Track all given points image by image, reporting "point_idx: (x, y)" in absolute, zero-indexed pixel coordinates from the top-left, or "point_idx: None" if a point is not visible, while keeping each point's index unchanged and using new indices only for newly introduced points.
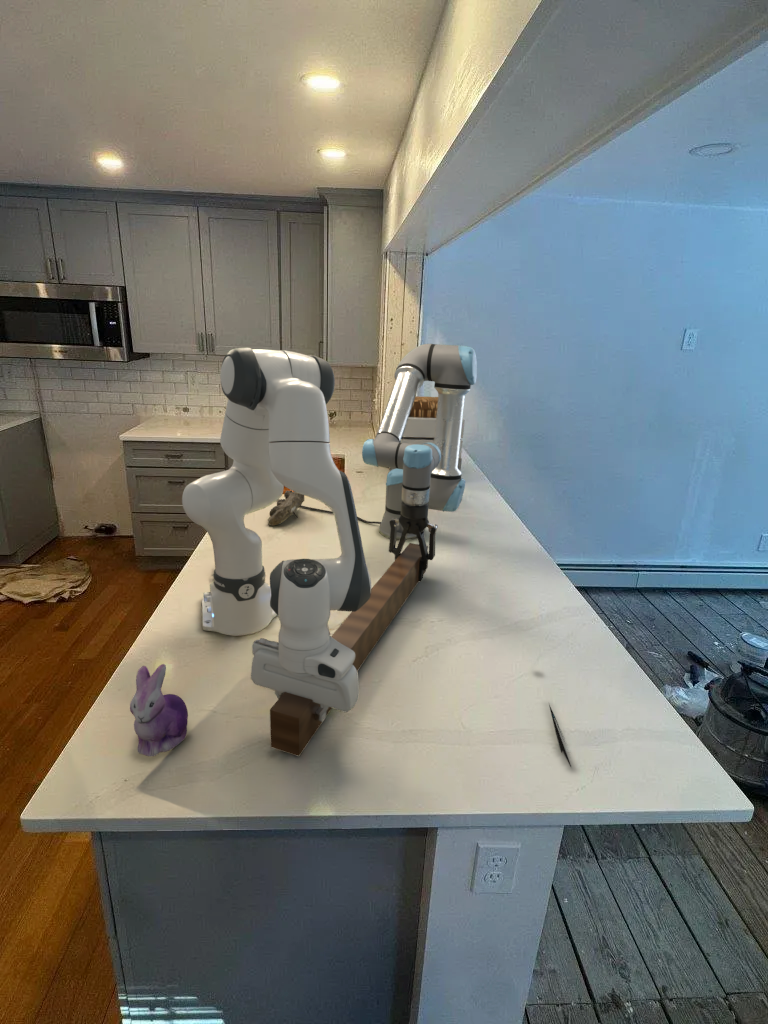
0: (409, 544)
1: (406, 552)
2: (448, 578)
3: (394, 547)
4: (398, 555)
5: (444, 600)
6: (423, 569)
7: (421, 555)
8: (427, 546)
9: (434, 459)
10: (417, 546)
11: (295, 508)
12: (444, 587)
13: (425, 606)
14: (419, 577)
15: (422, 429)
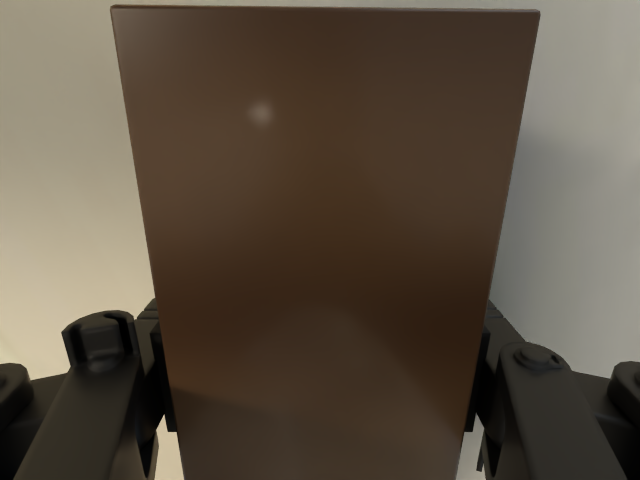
0: (144, 107)
1: (240, 432)
2: (581, 39)
3: (8, 438)
4: (157, 411)
5: (559, 355)
6: None
7: (464, 408)
8: (534, 37)
9: None
10: (328, 136)
11: None
12: (554, 204)
13: (465, 438)
14: None
15: None
